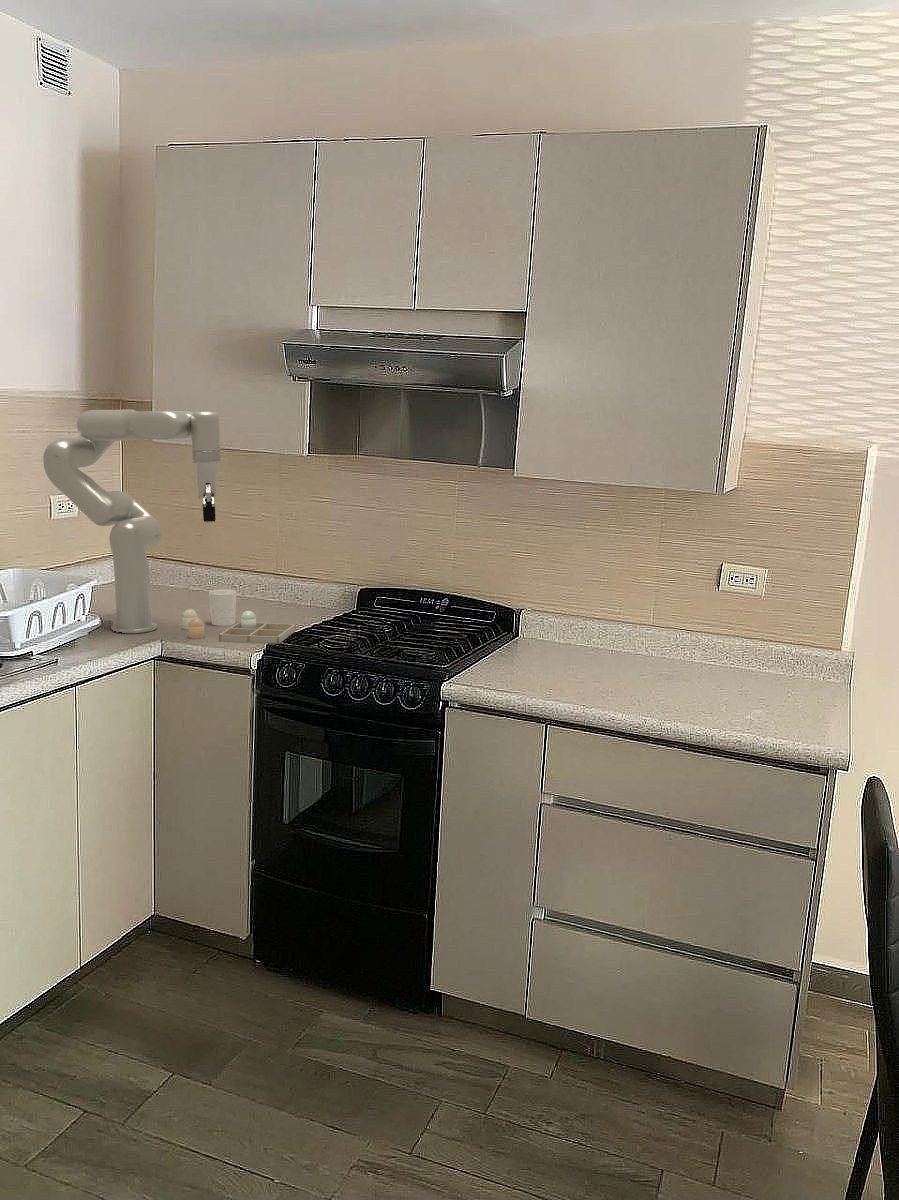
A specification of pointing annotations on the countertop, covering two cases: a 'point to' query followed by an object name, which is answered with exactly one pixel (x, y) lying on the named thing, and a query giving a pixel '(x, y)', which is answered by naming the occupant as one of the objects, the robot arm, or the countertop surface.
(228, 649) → the countertop surface
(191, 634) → the brown egg
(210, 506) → the robot arm
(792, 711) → the countertop surface
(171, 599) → the countertop surface
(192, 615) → the white egg
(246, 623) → the green egg
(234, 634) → the egg tray
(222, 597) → the white cup
